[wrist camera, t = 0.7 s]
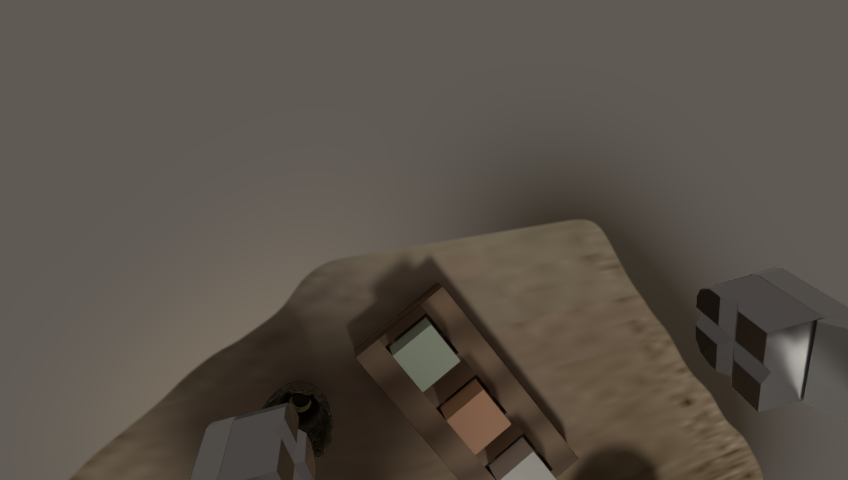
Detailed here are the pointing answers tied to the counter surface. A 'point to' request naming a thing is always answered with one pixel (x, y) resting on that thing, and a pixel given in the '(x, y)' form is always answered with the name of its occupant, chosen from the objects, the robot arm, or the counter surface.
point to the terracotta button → (475, 416)
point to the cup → (308, 413)
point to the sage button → (424, 354)
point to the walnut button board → (473, 365)
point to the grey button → (520, 464)
